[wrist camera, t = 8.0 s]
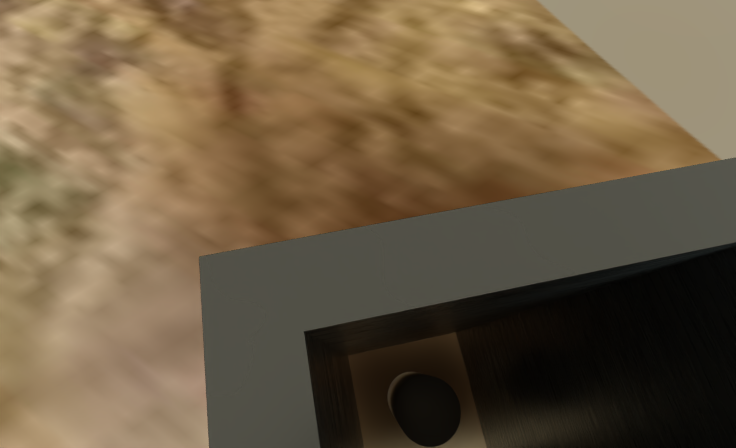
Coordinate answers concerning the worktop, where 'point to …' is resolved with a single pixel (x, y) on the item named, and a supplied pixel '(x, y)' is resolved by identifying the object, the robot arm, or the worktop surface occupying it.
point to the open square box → (495, 317)
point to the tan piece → (416, 396)
